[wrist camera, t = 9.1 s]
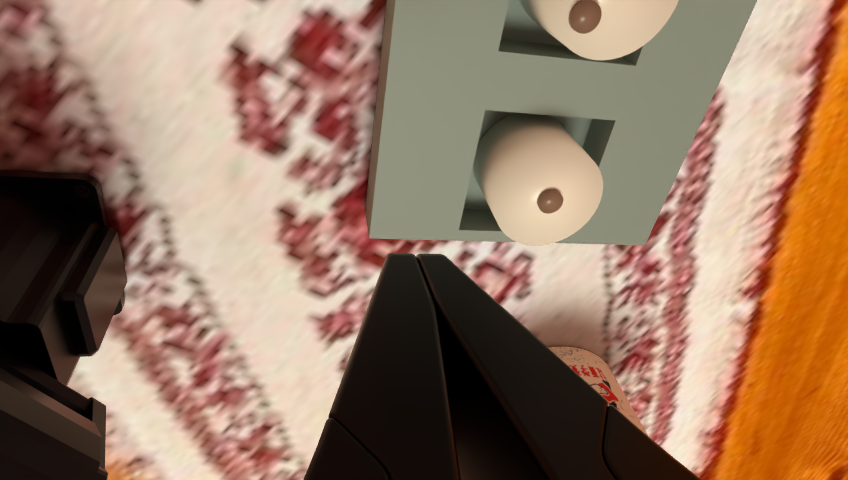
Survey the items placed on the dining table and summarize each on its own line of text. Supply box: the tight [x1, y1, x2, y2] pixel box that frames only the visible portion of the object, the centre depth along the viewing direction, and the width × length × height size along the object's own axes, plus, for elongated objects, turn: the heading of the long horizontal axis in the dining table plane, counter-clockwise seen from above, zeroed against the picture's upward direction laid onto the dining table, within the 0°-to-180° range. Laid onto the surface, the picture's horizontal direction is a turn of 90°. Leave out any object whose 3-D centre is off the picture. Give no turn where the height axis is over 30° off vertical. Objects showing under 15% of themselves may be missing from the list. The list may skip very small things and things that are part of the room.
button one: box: [473, 113, 603, 246], centre depth 21 cm, size 4×4×3 cm
